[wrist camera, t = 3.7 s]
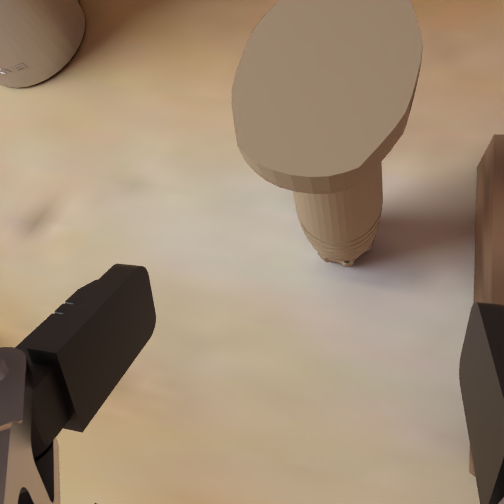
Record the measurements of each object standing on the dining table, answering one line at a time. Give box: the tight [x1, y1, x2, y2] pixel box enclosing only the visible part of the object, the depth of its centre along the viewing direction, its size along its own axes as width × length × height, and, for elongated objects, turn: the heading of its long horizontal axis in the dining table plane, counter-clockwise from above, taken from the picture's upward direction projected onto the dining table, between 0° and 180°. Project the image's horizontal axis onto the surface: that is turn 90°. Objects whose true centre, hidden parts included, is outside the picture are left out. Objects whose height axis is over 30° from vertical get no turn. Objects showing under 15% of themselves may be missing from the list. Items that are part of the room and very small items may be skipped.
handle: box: [232, 0, 423, 267], centre depth 19 cm, size 5×6×15 cm
